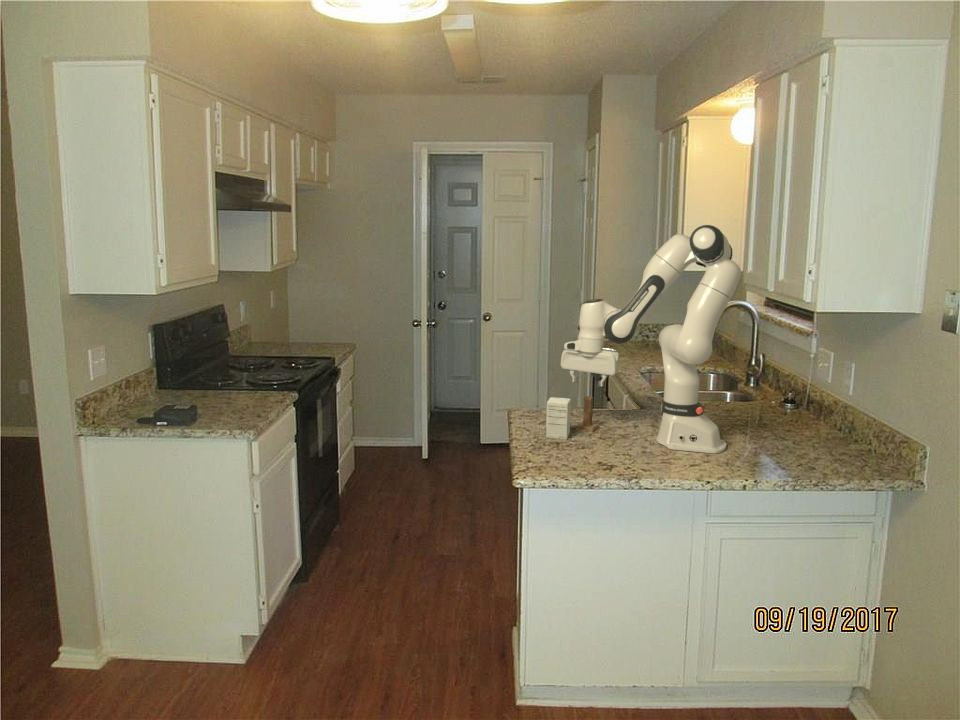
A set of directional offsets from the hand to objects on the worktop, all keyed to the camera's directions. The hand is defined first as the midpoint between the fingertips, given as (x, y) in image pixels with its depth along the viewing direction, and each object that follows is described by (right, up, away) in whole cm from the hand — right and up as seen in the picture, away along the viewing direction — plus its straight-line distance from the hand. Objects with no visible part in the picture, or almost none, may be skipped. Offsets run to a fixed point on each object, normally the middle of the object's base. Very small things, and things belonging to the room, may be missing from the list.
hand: (587, 384), depth 263 cm
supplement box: (-11, -18, -5) cm, 22 cm away
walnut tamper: (0, -16, +3) cm, 16 cm away
